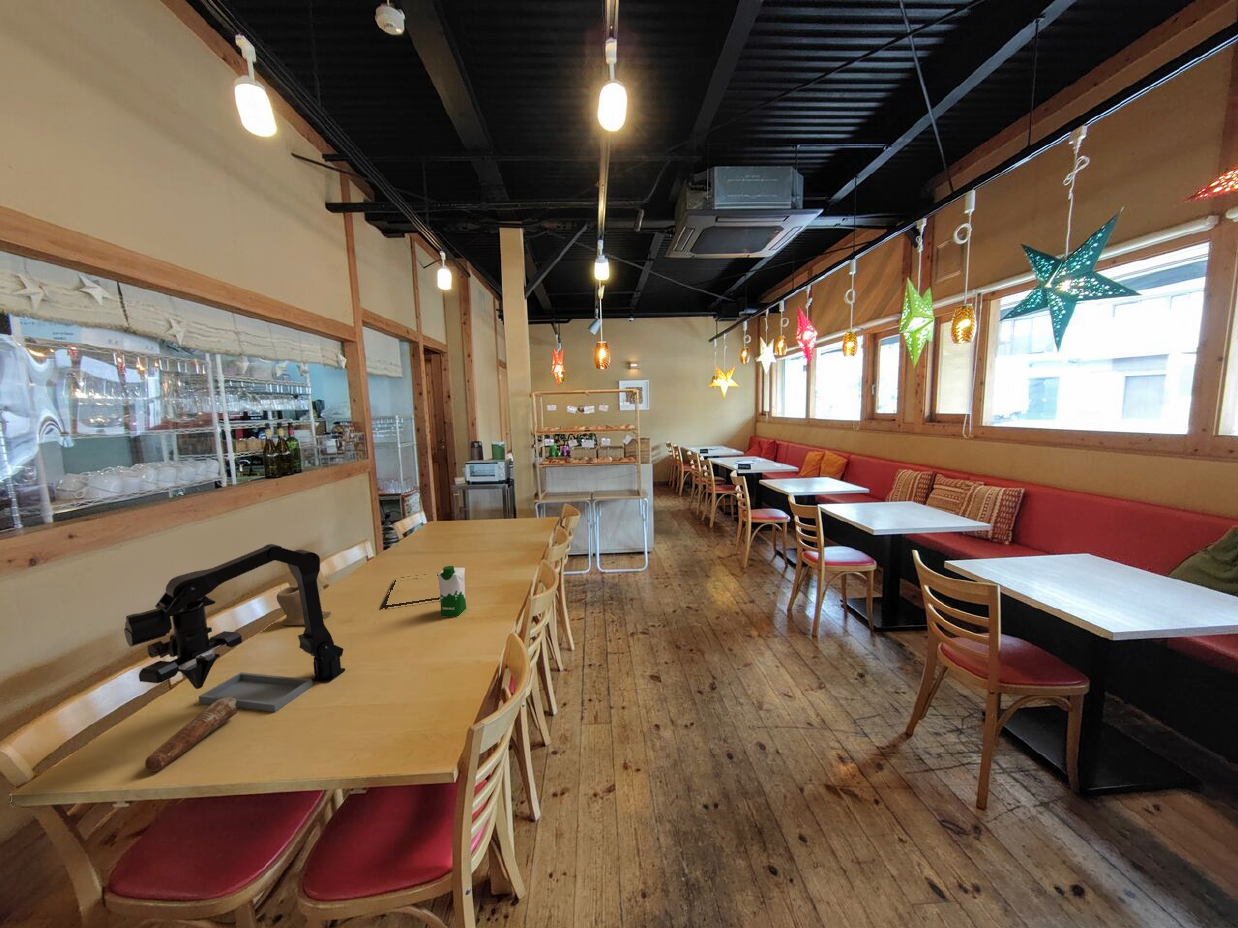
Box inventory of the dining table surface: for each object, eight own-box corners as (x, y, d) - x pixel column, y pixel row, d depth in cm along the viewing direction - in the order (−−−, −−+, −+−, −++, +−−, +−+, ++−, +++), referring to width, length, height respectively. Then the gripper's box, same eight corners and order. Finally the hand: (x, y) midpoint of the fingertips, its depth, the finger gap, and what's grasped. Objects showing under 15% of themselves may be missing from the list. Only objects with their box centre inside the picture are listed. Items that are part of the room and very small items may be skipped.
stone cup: (271, 629, 167) (267, 591, 165) (298, 615, 179) (294, 579, 177) (307, 631, 165) (303, 592, 163) (332, 617, 177) (328, 580, 175)
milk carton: (438, 619, 172) (434, 569, 170) (449, 609, 181) (445, 561, 179) (459, 620, 171) (456, 569, 169) (469, 609, 180) (466, 561, 178)
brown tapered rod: (240, 716, 117) (241, 697, 116) (158, 777, 98) (158, 756, 97) (218, 710, 118) (219, 691, 117) (133, 770, 99) (133, 749, 98)
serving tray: (312, 687, 130) (311, 679, 130) (275, 713, 119) (274, 704, 119) (242, 679, 135) (241, 672, 134) (199, 704, 123) (198, 696, 123)
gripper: (205, 608, 118) (212, 664, 120) (115, 644, 100) (125, 709, 102) (240, 611, 116) (247, 667, 118) (154, 648, 98) (163, 714, 100)
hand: (198, 687), depth 109 cm, fingers closed
